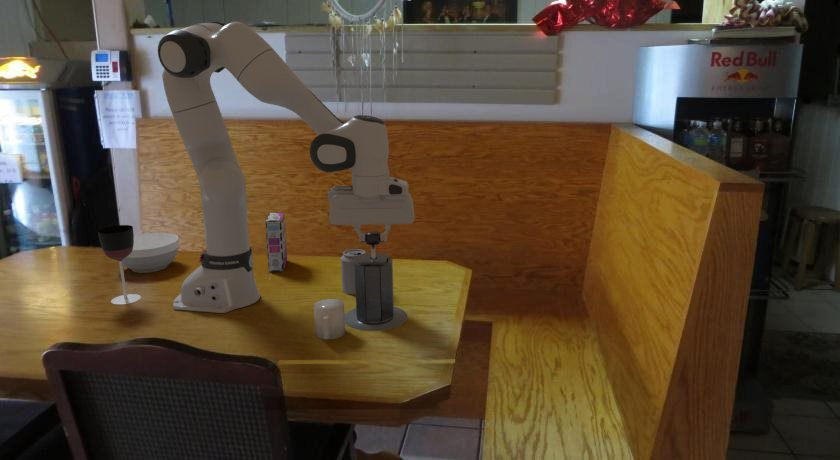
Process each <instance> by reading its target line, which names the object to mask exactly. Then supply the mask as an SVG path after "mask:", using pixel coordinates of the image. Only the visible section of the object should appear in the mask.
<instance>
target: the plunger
mask: <svg viewBox="0 0 840 460" xmlns="http://www.w3.org/2000/svg"><path fill="white" fill-rule="evenodd" d="M364 234H365V237H366V242H365V244H366V245H369V246H370V251H371V253H370V254H371V256H372V259H376V254H377V253H376V245H377V246H378V245H380V244H381V243H382V242H380V234H381V232H380V231H377V230H372V231H367V232H364ZM372 266H376V265H372Z"/></svg>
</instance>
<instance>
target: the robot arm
mask: <svg viewBox="0 0 840 460" xmlns="http://www.w3.org/2000/svg"><path fill="white" fill-rule="evenodd" d="M157 45H158V46H157V56H158V60H159V62H160V64H161V66H162V67H163V69H164V70H163V71H162V76H161V77H162V83H163V88H164V92H165V96H166V101H167V103H168V106H169V109H170V112H171V114H172V116H173V119H174V122H175V125H176V127H177V129H178V132H179V135H180V138H181V141H182V143H183V145H184V148H185V149H186V152H187V154H188V158H189V159H190V161H191V164H192V166H193V169H194V172H195V173H196V176H197V179H198V180H197V181H198V183H199V190H200V199H201V208H202V217H203V229H204V237H205V249H203V251H202V253H201V254H200V255H199V257H198V262H199V263H200V264H201V265H199V266H198V267H197V268H196V269H194V270H193V271H192V272H191V273H190V274H189V275H188V276H187V277H186V278H185V279H184V280H183V282H182V285H181V290H180V293H179V294H178V295H177V296H176V297H175V299H174V300H173V303H172V307H173V309H174V310H176V311H179V310H180V311H192V312H201V313H202V312H206V313H215V314H216V313H218V314H219V313H220V314H225V313H229V312H230V311H233V310H237V309H240V308H243V307H244V308H245V307H247V306H250V305H253V304H255V303H256V302H257V301H259V300H260V298H261V294H260V292H259V290H258V289H259V288H258V286H257V283H256V280H255V275H254V270H253V268H254V256H253V252H252V247H251V246H250V236H249V235H250V234H249V223H248V199H247V196H248V195H247V181H246V180H247V179H246V176H245V174H244V173H243V170H242V169H241V166H240V164H239V162H238V159H237V156H236V152H235V150H234V147H233V144H232V142H231V138H230V135H229V132H228V129H227V127H226V123H225V120H224V118H223V115H222V113H221V109H220V107H219V103H218V101H217V98H216V96H215V94H214V91H213V88H212V83H211V77H212V75H213V73H217V74H218V73H220V72H222V71H223V70H225V69H226V70H227V71H228V72H229V73H230V74H231V75H232V76H233V78H234V79H236V80H237V82H238V83H239V84H240V86H242V87H243V89H244V90H245V91H247V92H248V93H249V94H250V95H251V96H253V97H254V98H255V99H256V100H258V101H259V102H261V103H265V104H268V105H273V106H278V107H281V108H285V109H287V110H289V111H292V112H293V113H294V114H296V115H297V116H298V117H300V119H302V120H303V122H305V123H306V124H307V125H308V127H310V128H311V129H312V130H313V132H314V133H316V135H317V136H315V137H314V139H313V140H312V141H311V143H310V144H309V157H310V160H311V162H312V164H313V165H314V166H315V168H317V169H319V171H322V172H325V173H338V172H341V171H346V170H350V171H351V183H352V184H351V185H334V186H333V187H330V188H329V189H328V191H327V201H328V203H329V204H330V207H329V222H330V224H332V225H333V226H353V229H354V231H355V232H356V234H357V235H358V241H359V243H366V237H365V233H363V232H362V230H361V227H362V226H363V225H368V226H369V225H384V227H383V228H384V229H385V231H384V232H382V233H381V232H380V242H381V243H387V241H388V240H387V235H388V234H389V232H390V230H391V226H392V225H411V224H412V223H414V221H415V208H414V207H415V206H414V201H413V198H412V195H411V193H409V183H408V181H406V180H403V179H400V178H396V177H392V176H390V169H389V163H388V159H389V155H390V149H389V137H388V130H387V126H386V124H385V122H384V121H383V120H382V119H380V118H378V117H377V116H371V115H362V114H358V115H354V116H353V117H351V118H350V119H349V120H348V121H346V122H345V121H342V120H341V119H339V117H338V116H336V115H335V114H334V113H333V111H331V110H330V109H329V108H328V107H327V106H326V105H325V104H324V103H323V101H321V100H320V98H318V97H317V96H316V95H315V94H314V93H313V92H312V91H311V90H310V89H308V87H307V86H306V85H305V84H304V83H303V81H301V79H300V78H299V77H298V76H297V75H296V74H295V73H294V71H293V70H292V69H291V68H290V67H289V65H287V63H286V62H285V61H284V60H283V58H282V57H281V56H280V55H279V53H278V52H276V50H275V49H274V48H273V47H272V46H271V45H270V44H269V43H268V42H267V41H266V40H265V39H264V38H263V37H262V36H261V35H259V33H257V32H256V31H255V30H253V29H252V28H251V27H250V26H248V25H247V24H245V22H244V23H243V22H241V21H231V22H230V23H225V22H220V21H210V22H203V23H194V24H191V25H190V26H187V27H184V28H181V29H175V30H172V31H170V32H168V33H167V34H165V35H164V36H163V37H162V38H160V40H159V43H158V44H157Z"/></svg>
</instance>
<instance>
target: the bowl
mask: <svg viewBox="0 0 840 460" xmlns="http://www.w3.org/2000/svg"><path fill="white" fill-rule="evenodd" d="M179 247H180V238H179V236H178V235H177V234H174V233H169V232H149V233H141V234H134V244H133V250H132V252H131V253H130V255H128V256H127V257H126V258H124V259H123V260H122V265H123V267H125V268H127V269H129V270H130V271H132V272H134V273H137V274H138V273H139V274H143V273H144V274H146V273H149V274H150V273H155V272H158V271H162V270H164V269H166V268H168V267H169V265H170V264H171V263H172V262H173V261H174V260H175V258H176V256H177V255H178V253H179Z"/></svg>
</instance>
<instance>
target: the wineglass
mask: <svg viewBox="0 0 840 460" xmlns="http://www.w3.org/2000/svg"><path fill="white" fill-rule="evenodd" d="M97 233H98V238H99V242H100V246H101V249H102V252H103V253H104V255H105V256H106V257H107V258H108V259H111V260H116V261H118V265H119V266H118V267H119V271H120V272H119V273H120V279H121V286H122V291H123V294H122V295H119V296H115V297H114V298H112V299H111V300H110V303H111V304H114V305H127V304H132V303H135V302H138V301H139V300H141V298H142V296H141V295H140V294H135V293H127V292H128V291H127V287H126V280H125V272H124V265H123V264H122V260H123V259H124V258H126V257H127V256H128V255H130V253H131V252H132V250H133V244H134V235H135V234H134V227H133V225H131V224H130V225H129V224H119V225H118V224H117V225H111V226H107V227H103V228H100V229H99V230H98V231H97Z"/></svg>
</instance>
